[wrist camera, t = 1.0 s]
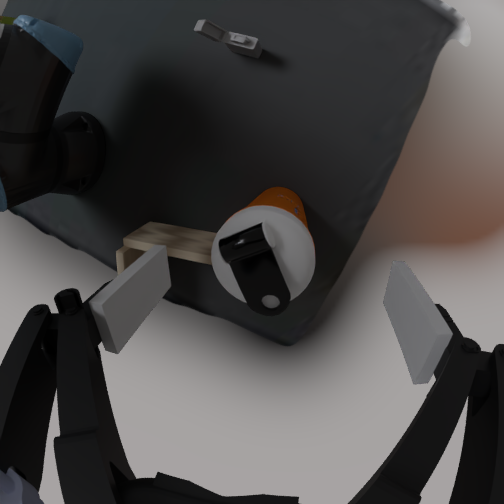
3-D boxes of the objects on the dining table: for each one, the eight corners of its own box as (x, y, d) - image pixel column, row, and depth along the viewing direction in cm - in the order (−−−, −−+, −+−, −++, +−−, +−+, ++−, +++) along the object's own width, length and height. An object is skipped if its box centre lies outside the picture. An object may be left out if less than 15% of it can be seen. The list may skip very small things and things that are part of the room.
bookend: (151, 276, 47) (121, 306, 38) (150, 221, 43) (115, 243, 34) (227, 294, 46) (209, 331, 37) (233, 236, 42) (213, 264, 33)
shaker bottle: (269, 251, 42) (242, 338, 24) (235, 200, 40) (178, 255, 22) (322, 222, 39) (337, 296, 21) (289, 167, 37) (276, 195, 18)
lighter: (262, 48, 31) (253, 28, 23) (258, 58, 31) (247, 40, 24) (216, 37, 31) (197, 17, 23) (211, 47, 31) (191, 29, 24)
